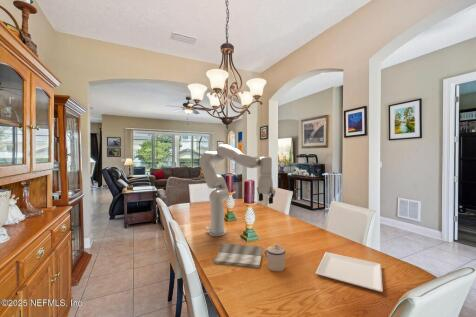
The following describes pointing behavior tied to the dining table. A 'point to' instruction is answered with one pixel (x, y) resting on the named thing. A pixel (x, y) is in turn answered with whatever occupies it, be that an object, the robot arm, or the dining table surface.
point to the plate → (351, 271)
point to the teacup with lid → (275, 257)
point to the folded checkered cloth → (241, 249)
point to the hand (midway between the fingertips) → (265, 202)
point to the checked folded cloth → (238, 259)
